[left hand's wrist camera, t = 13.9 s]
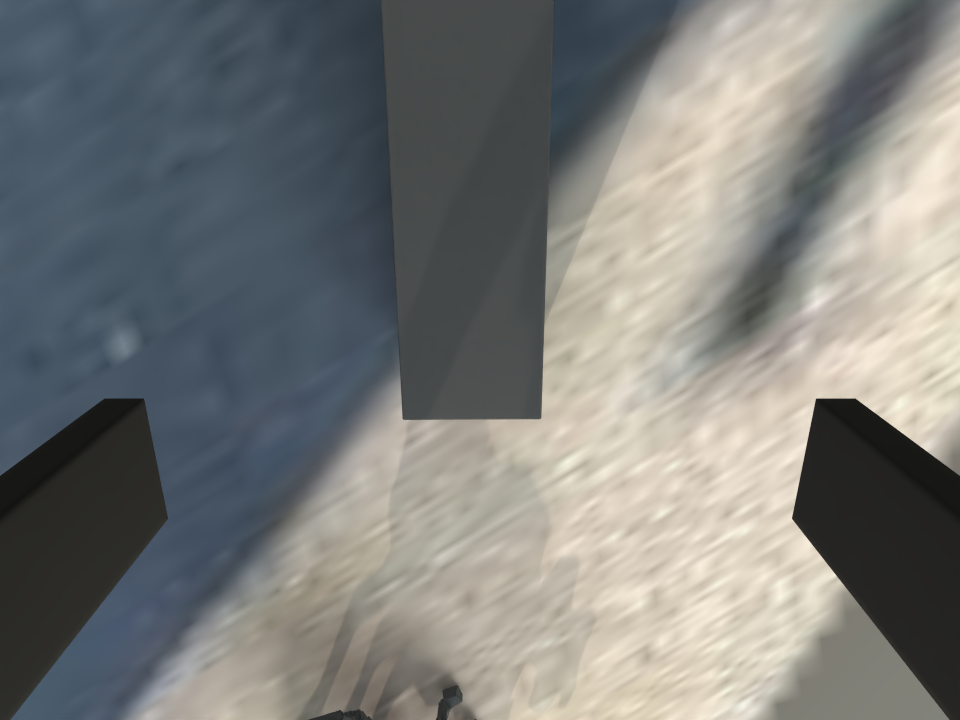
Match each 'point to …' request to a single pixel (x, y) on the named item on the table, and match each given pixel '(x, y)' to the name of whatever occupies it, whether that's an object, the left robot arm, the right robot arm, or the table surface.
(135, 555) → the left robot arm
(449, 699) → the toy
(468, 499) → the table surface
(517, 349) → the bar
